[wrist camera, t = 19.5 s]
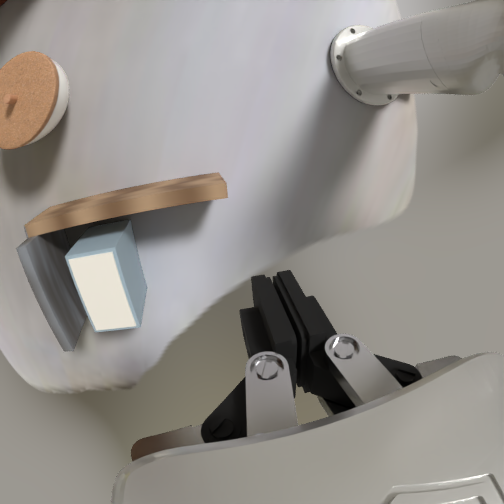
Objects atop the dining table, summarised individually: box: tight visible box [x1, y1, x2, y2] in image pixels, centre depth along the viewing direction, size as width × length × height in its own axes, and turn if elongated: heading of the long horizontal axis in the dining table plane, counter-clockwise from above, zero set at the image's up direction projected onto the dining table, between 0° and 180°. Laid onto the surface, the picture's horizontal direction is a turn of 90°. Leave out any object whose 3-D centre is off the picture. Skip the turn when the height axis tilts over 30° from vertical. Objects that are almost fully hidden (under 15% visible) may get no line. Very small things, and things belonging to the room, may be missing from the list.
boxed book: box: [65, 220, 147, 332], centre depth 30 cm, size 6×10×9 cm, turn 4°
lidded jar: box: [0, 51, 69, 150], centre depth 19 cm, size 11×11×9 cm
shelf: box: [17, 173, 228, 351], centre depth 29 cm, size 28×16×10 cm, turn 94°
